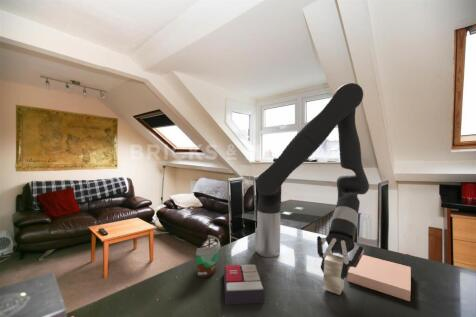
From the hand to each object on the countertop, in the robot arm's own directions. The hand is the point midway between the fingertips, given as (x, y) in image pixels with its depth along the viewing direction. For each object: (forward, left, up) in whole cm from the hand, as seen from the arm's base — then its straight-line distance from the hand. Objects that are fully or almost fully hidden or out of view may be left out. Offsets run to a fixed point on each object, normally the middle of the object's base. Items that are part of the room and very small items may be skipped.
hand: (332, 274), depth 66 cm
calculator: (-23, -14, -6) cm, 27 cm away
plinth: (+10, +17, -6) cm, 21 cm away
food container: (-37, -13, -6) cm, 39 cm away
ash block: (0, +1, -5) cm, 5 cm away
